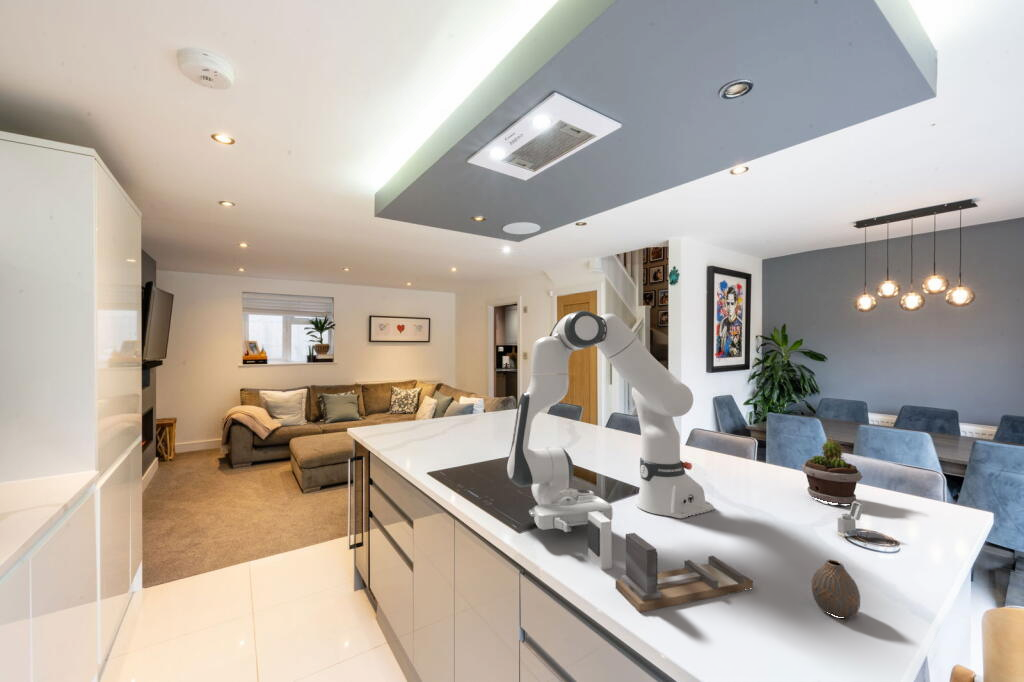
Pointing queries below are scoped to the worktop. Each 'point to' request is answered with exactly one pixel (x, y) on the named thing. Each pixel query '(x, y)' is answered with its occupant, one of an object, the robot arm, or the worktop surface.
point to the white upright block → (599, 540)
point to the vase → (835, 590)
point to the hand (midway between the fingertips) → (586, 526)
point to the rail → (673, 579)
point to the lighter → (850, 518)
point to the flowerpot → (831, 475)
